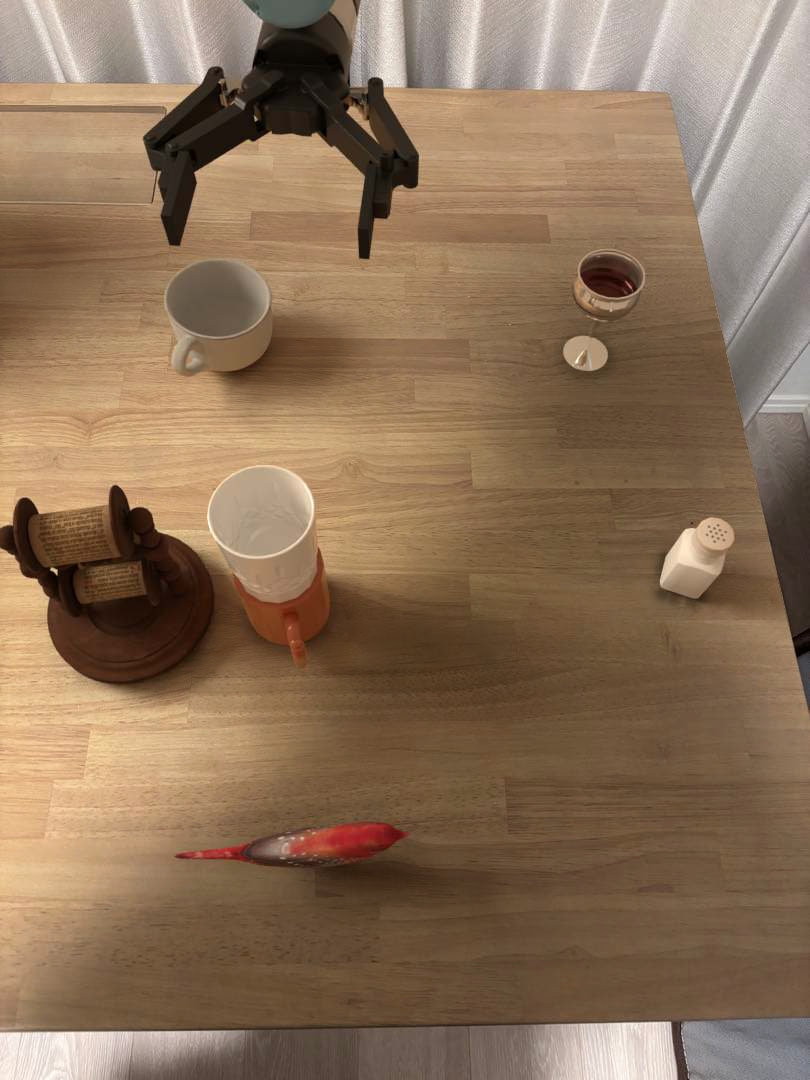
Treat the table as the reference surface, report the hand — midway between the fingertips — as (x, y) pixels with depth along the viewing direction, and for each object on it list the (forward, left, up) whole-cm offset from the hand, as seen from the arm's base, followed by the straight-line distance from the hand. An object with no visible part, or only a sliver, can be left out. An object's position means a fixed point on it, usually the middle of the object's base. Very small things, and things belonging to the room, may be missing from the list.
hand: (266, 238), depth 58 cm
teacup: (-16, -6, -30) cm, 35 cm away
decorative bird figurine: (+37, -9, -30) cm, 48 cm away
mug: (+16, -5, -30) cm, 35 cm away
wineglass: (-6, +33, -30) cm, 45 cm away
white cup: (+15, -5, -21) cm, 26 cm away
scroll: (+12, -19, -30) cm, 37 cm away
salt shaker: (+22, +32, -30) cm, 49 cm away
